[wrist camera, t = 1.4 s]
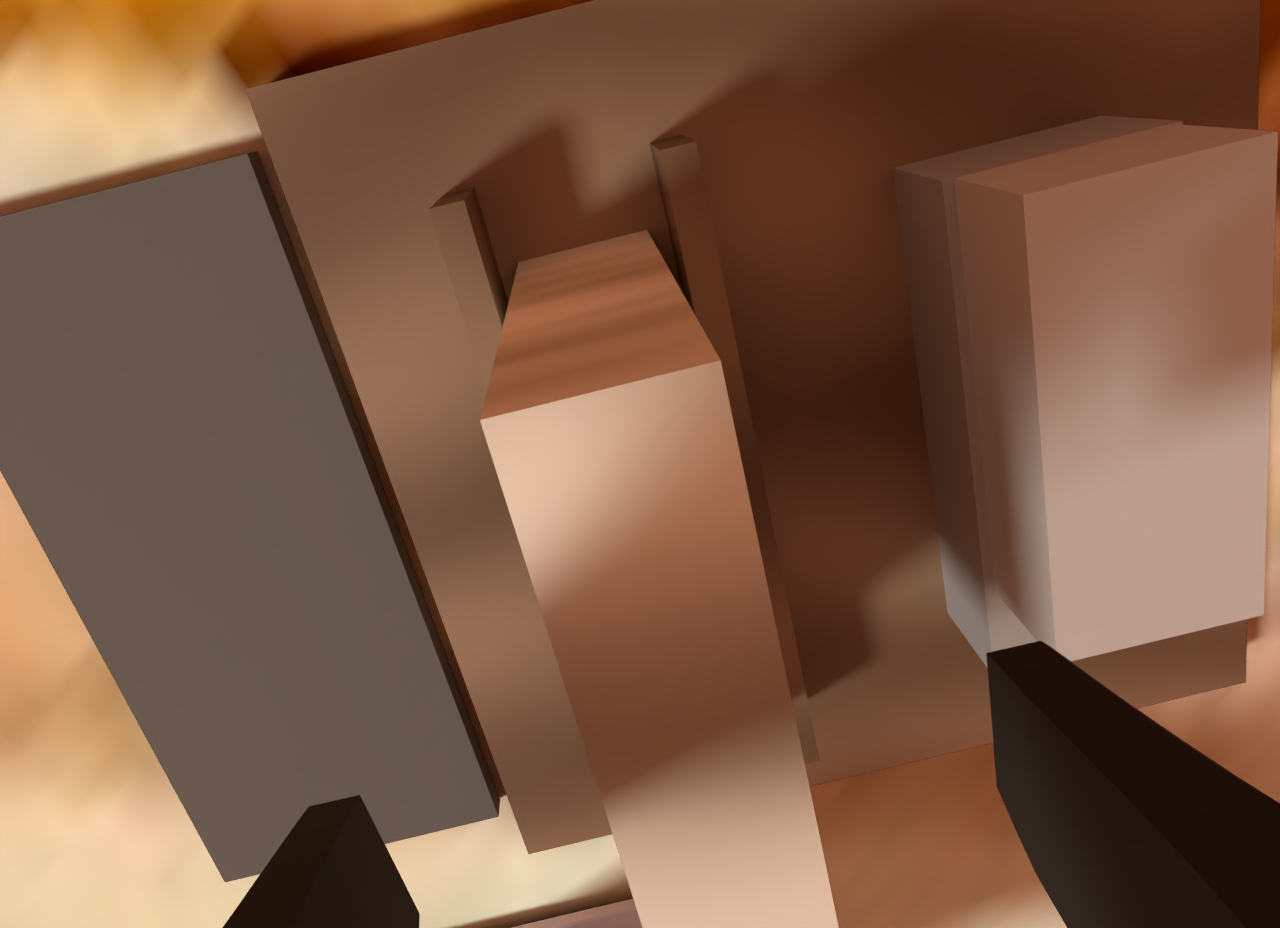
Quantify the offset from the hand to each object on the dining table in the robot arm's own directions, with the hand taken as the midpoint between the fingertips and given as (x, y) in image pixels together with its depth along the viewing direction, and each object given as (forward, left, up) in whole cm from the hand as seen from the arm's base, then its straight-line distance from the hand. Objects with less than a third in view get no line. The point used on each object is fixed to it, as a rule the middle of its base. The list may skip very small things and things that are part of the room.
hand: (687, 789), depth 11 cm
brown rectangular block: (0, 0, -10) cm, 10 cm away
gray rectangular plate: (0, +9, -11) cm, 14 cm away
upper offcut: (+1, -8, -7) cm, 11 cm away
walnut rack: (0, -4, -11) cm, 11 cm away
